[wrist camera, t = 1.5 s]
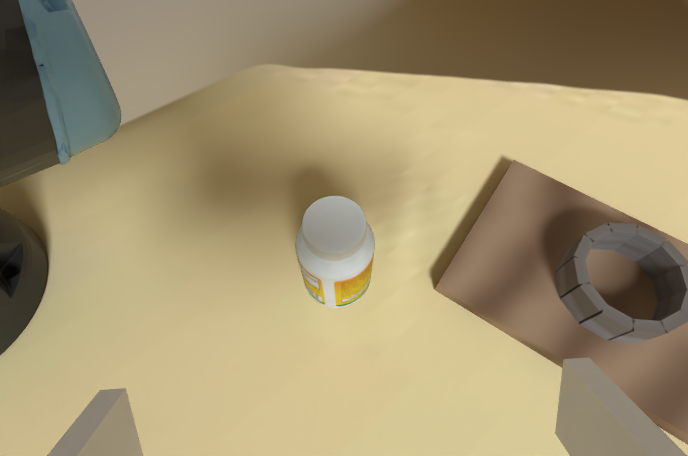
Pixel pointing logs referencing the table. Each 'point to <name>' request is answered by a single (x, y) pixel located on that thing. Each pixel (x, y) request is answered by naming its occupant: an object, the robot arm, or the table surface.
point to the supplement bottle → (335, 251)
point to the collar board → (531, 296)
